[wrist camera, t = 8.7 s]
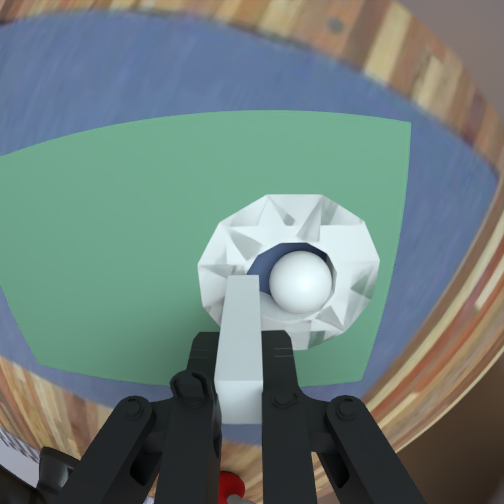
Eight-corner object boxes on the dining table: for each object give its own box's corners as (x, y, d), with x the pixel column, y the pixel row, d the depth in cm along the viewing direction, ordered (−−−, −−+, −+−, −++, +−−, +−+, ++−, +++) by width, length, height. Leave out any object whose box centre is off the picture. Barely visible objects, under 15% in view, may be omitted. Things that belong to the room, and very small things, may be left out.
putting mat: (50, 347, 22) (39, 364, 20) (-9, 161, 14) (-30, 169, 12) (353, 358, 22) (361, 380, 20) (389, 121, 14) (410, 122, 12)
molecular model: (236, 450, 29) (233, 521, 20) (275, 458, 30) (278, 524, 21) (188, 481, 35) (182, 531, 26) (219, 488, 37) (216, 536, 28)
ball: (322, 301, 18) (292, 257, 19) (354, 282, 15) (318, 230, 16) (282, 331, 17) (249, 281, 18) (311, 316, 14) (270, 256, 14)
